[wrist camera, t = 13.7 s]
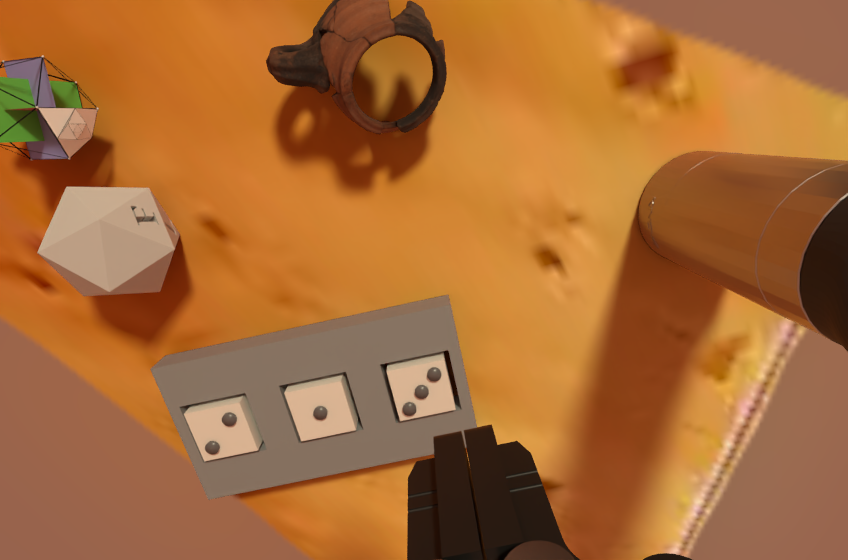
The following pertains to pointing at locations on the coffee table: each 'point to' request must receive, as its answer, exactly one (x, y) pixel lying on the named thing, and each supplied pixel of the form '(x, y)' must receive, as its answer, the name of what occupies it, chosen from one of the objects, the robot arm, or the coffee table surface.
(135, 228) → the die
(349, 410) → the one pip tile
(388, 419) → the button board
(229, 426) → the two pip tile
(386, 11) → the pottery mug
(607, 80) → the coffee table surface
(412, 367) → the three pip tile
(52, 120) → the geometric puzzle
